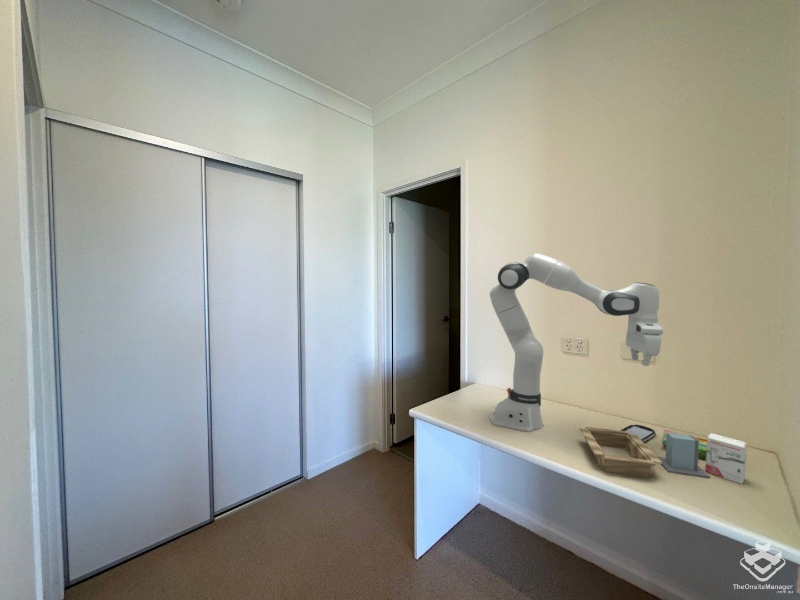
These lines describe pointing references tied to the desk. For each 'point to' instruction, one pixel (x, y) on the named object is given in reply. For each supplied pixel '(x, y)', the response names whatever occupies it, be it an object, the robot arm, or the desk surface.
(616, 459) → the brown wooden rectangular frame
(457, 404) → the desk surface
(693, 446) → the block
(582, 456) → the desk surface
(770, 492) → the desk surface
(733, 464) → the ink box
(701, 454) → the puzzle game
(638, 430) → the gaming console
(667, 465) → the mat
